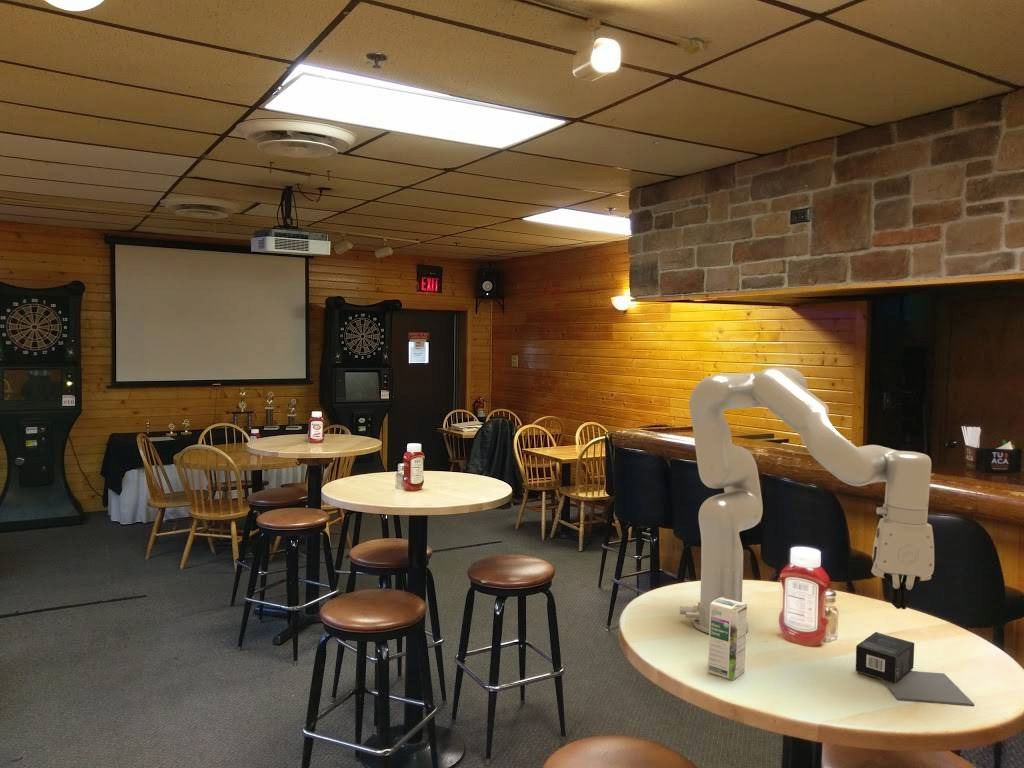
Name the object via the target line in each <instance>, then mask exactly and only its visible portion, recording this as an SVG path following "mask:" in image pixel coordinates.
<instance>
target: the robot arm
mask: <svg viewBox="0 0 1024 768" xmlns="http://www.w3.org/2000/svg"><path fill="white" fill-rule="evenodd" d="M759 407H760V408H763V407H766V409H767V410H769V411H770V412H771V413H772V414H773V415H775V416H776V417H778V419H780V420H781V421H782V422H784V424H786V425H787V426H788V427H789V428H791V429H792V430H793V431H794V432H795V433H796V434H797V435H798V436H799V437H800V439H801V441H802V444H803V445H804V446H805V449H807V451H808V452H809V454H810V456H812V458H813V459H815V461H817V462H818V463H819V464H820V465H821V466H822V467H823V468H824V469H826V470H827V471H828V472H829V473H831V474H832V475H833V476H834V477H835V478H837V479H838V480H840V481H841V482H843V483H844V484H847V485H849V486H853V487H864V486H866V485H869V484H870V485H871V484H875V483H882V482H885V493H884V494H885V495H884V503H883V505H882V506H880V507H878V506H877V507H876V511H875V512H876V514H877V515H880V516H882V517H881V518H880V519H879V522H878V525H877V527H876V532H875V536H874V542H873V547H872V548H873V549H872V556H871V560H872V564H873V565H872V566H871V567H872V568H871V570H870V571H871V574H872V575H873V576H876V577H878V578H882V579H885V581H886V582H888V584H890V586H889V587H890V588H889V591H890V592H889V601H890V603H891V604H892V606H893V607H895V609H897V610H900V609H901V610H907V605H908V604H909V602H910V592H911V590H912V589H913V587H914V586H915V585H916V584H918V583H920V582H922V581H923V582H925V581H929V580H931V579H932V575H933V574H934V570H935V542H934V541H935V540H934V532H933V525H932V524H930V523H928V514H929V512H928V511H929V500H930V487H931V478H932V477H931V473H932V459H931V458H930V456H929V455H928V454H925V453H921V452H917V451H911V450H910V451H909V450H908V451H907V450H897V449H893V448H890V447H885V446H882V445H878V444H868V445H867V444H866V445H862V446H856V445H855V444H854V443H852V442H851V441H850V440H848V439H847V438H846V437H844V435H843V434H841V433H840V432H839V431H838V430H837V429H836V427H834V425H833V424H832V422H831V420H830V418H829V416H830V415H829V412H830V408H829V406H828V404H826V402H824V401H822V400H821V399H820V398H819V397H817V396H816V395H814V394H813V393H812V392H810V390H808V382H807V379H806V377H805V376H804V374H802V373H801V372H800V371H799V370H797V369H795V368H792V367H788V366H787V367H786V366H785V367H783V366H782V367H777V366H776V367H775V366H774V367H766V368H764V369H762V370H760V371H754V372H753V371H752V372H751V371H750V372H740V373H739V372H738V373H737V372H736V373H735V372H734V373H733V372H731V373H730V372H729V373H728V372H727V373H725V372H724V373H716V374H711V375H709V376H706V377H705V378H703V379H701V380H700V381H699V382H698V383H697V384H695V386H694V387H693V389H692V391H691V393H690V396H689V400H688V412H689V418H690V421H691V424H692V431H693V436H694V437H693V438H694V447H695V455H696V461H697V469H698V474H699V479H700V481H701V482H702V484H704V485H705V486H706V487H707V488H709V489H710V488H711V489H723V490H724V492H723V493H717V494H715V495H713V496H712V495H711V496H710V497H708V498H707V499H705V500H704V501H703V502H702V504H701V506H700V508H699V511H698V525H699V532H700V539H701V540H700V542H701V545H700V546H701V549H700V550H701V551H700V552H701V555H700V558H701V560H700V564H701V565H700V567H701V568H700V596H699V597H700V599H699V600H700V601H699V602H697V605H693V606H682V605H680V606H679V615H685V618H689V619H690V618H692V626H694V628H696V629H697V630H698V631H701V632H703V633H705V632H706V634H709V618H710V603H712V602H713V601H714V600H716V599H718V598H721V597H723V598H725V599H730V600H734V601H738V602H742V603H743V578H744V548H743V545H742V541H741V537H740V532H742V531H746V530H749V529H752V528H754V527H756V526H757V525H758V524H759V523H760V521H761V519H762V518H763V517H762V516H763V510H764V509H763V507H764V506H763V498H762V491H761V485H760V484H761V483H760V477H759V470H758V464H757V463H756V460H755V458H754V456H753V454H752V453H751V452H750V451H749V450H748V449H747V448H745V447H742V446H740V445H733V439H732V432H731V427H730V424H729V422H728V420H727V419H726V417H725V415H724V413H725V411H727V410H739V409H741V410H742V409H750V408H759ZM900 576H901V580H900ZM748 631H749V625H748V623H747V621H746V633H747V632H748Z"/></svg>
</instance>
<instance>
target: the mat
mask: <svg viewBox="0 0 1024 768" xmlns="http://www.w3.org/2000/svg"><path fill="white" fill-rule="evenodd" d="M880 680H881V682H883V684H884V685H885V686H886V687H887V689H888V690H889V692H890V693H891V694H892V695H893V697H894V698H895V699H896V700H897V701H906V702H918V703H919V702H920V703H933V704H943V705H944V704H945V705H957V706H968V705H969V707H975V703H974V702H973V701H972V700H971V699H970V698H969V697H968V696H967V695H966V694H965V693H964V692H963V691H962V690H961V689H960V688H959V686H958V685H956V684H955V682H953V681H952V679H950V677H948V676H947V675H946V673H942V672H930V671H918V670H917V671H915V670H911V671H910V672H908V673H907V674H906V675H905V676H904V677H902V678H901V679H900V680H899V681H898V682H897V683H892V682H889V681H885V680H882V679H880Z"/></svg>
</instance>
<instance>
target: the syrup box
mask: <svg viewBox="0 0 1024 768" xmlns="http://www.w3.org/2000/svg"><path fill="white" fill-rule="evenodd" d="M747 610H748V603H747V602H743V601H742V602H738V601H734V600H730V599H725V598H723V597H721V598H718V599H716V600H714V601H713V602H712V603H710V618H709V633H708V658H707V659H708V660H707V673H708V672H709V674H712V675H713V674H714V675H715V676H719V677H722V678H725V679H728V680H731V681H734V680H736V679H737V678H739V677H740V676H741V675H742V674H743V673H745V666H746V644H747V643H746V642H747V639H746V638H747V632H746V622H747V616H748V615H747V613H748V612H747Z"/></svg>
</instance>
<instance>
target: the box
mask: <svg viewBox="0 0 1024 768" xmlns="http://www.w3.org/2000/svg"><path fill="white" fill-rule="evenodd" d="M914 657H915V642H913V641H909V640H905V639H901V638H897V637H895V636H891V635H887V634H884V633H881V632H877V631H875V632H874V633H872V634H871V635H869V636H868V637H866V638H865V639H863V640H862V641H861V642H859V643H858V644H856V646H855V672H857V673H861V674H864V675H867V676H870V677H873V678H876V679H878V680H879V679H880V680H881V679H882V680H885V681H889V682H892V683H897V682H898V681H899V680H900V679H901V678H902V677H904V676H905V675H906V674H907V673H908V672H910V671H913V669H914V665H915V664H914V663H915V662H914V661H915V659H914ZM882 680H881V681H882Z"/></svg>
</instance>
